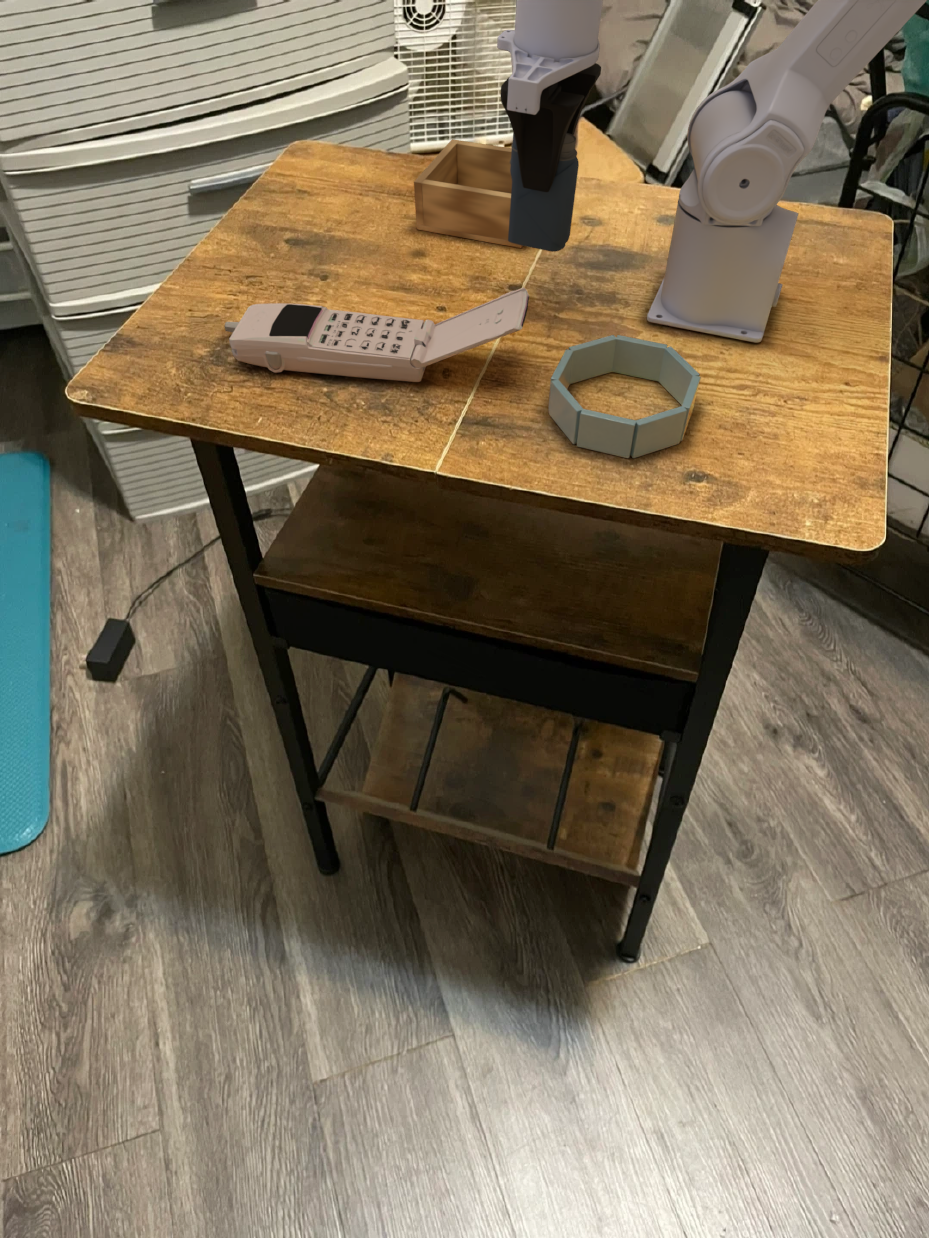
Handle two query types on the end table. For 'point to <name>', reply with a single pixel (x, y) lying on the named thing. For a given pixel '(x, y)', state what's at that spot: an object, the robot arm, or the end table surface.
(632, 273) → the end table surface
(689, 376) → the octagonal ring
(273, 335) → the mobile phone
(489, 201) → the holder
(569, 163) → the vaping device
